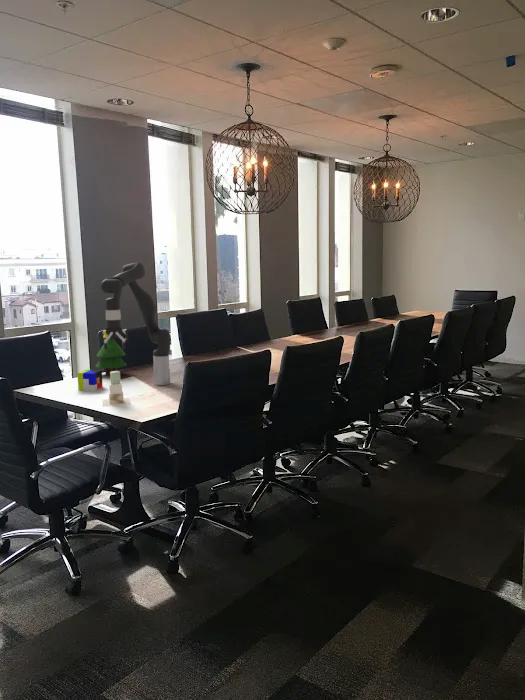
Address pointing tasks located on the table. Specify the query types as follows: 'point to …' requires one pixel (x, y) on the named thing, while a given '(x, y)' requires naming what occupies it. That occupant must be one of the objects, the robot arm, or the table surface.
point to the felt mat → (107, 403)
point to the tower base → (116, 398)
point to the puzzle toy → (90, 380)
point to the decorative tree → (110, 356)
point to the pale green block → (115, 377)
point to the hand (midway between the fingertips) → (114, 349)
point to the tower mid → (115, 388)
